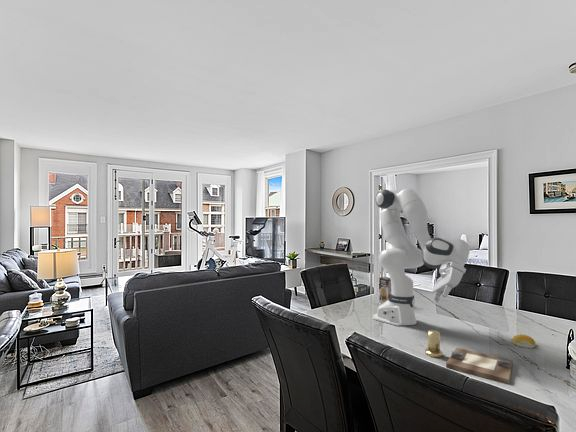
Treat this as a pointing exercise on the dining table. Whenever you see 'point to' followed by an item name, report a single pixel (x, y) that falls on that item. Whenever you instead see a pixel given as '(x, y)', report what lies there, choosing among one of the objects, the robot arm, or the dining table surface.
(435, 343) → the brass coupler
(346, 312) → the dining table surface
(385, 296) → the coffee box
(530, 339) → the bread roll
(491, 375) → the board
